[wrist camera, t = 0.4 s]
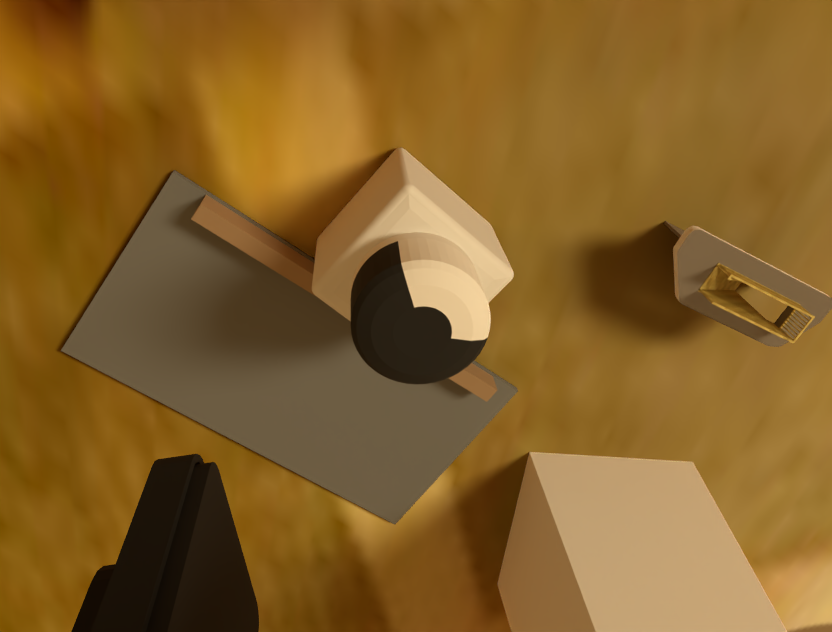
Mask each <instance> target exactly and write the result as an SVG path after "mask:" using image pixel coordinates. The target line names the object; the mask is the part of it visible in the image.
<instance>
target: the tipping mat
mask: <svg viewBox="0 0 832 632" xmlns="http://www.w3.org/2000/svg"><path fill="white" fill-rule="evenodd" d="M314 263H315V259H313V258H312V257H310V256H309V255H307V254H305V253H304V252H302V251H301V250H299V249H298V248H296V247H294V246H293V245H291V244H290V243H288V242H287V241H285V240H283V239H282V238H280V237H279V236H277V235H276V234H274V233H272V232H271V231H269V230H268V229H266V228H265V227H263V226H261V225H260V224H258V223H257V222H255V221H254V220H252V219H250V218H249V217H247V216H246V215H244V214H243V213H241V212H239V211H238V210H236V209H235V208H233V207H232V206H230V205H228V204H227V203H225V202H224V201H222V200H221V199H219V198H217V197H216V196H214V195H213V194H211V193H210V192H208V191H206V190H205V189H203V188H202V187H200V186H199V185H197V184H195V183H194V182H192V181H191V180H189V179H188V178H186V177H184V176H183V175H181V174H180V173H178V172H177V171H175V170H174V171H173V173H172V174H171V176H170V177H169V179H168V181H167V182H166V184H165V185H164V187H163V189H162V190H161V192H160V193H159V195H158V197H157V198H156V200H155V201H154V203H153V205H152V206H151V208H150V209H149V211H148V212H147V214H146V216H145V217H144V219H143V220H142V222H141V224H140V225H139V227H138V228H137V230H136V232H135V233H134V235H133V236H132V238H131V240H130V241H129V243H128V244H127V246H126V248H125V249H124V251H123V252H122V254H121V256H120V257H119V259H118V260H117V262H116V264H115V265H114V267H113V268H112V270H111V272H110V273H109V275H108V276H107V278H106V279H105V281H104V283H103V284H102V286H101V287H100V289H99V291H98V292H97V294H96V295H95V297H94V299H93V300H92V302H91V303H90V305H89V307H88V308H87V310H86V311H85V313H84V315H83V316H82V318H81V319H80V321H79V323H78V324H77V326H76V327H75V329H74V331H73V332H72V334H71V335H70V337H69V338H68V340H67V342H66V343H65V345H64V346H63V348H62V350H61V351H62V352H64V353H66V354H68V355H70V356H72V357H74V358H76V359H78V360H80V361H82V362H84V363H85V364H87V365H89V366H91V367H93V368H95V369H97V370H99V371H101V372H103V373H105V374H107V375H109V376H110V377H112V378H114V379H116V380H118V381H120V382H122V383H124V384H126V385H128V386H130V387H132V388H134V389H135V390H137V391H139V392H141V393H143V394H145V395H147V396H149V397H151V398H153V399H155V400H157V401H158V402H160V403H162V404H164V405H166V406H168V407H170V408H172V409H174V410H176V411H178V412H180V413H182V414H183V415H185V416H187V417H189V418H191V419H193V420H195V421H197V422H199V423H201V424H203V425H205V426H207V427H208V428H210V429H212V430H214V431H216V432H218V433H220V434H222V435H224V436H226V437H228V438H230V439H232V440H233V441H235V442H237V443H239V444H241V445H243V446H245V447H247V448H249V449H251V450H253V451H255V452H257V453H258V454H260V455H262V456H264V457H266V458H268V459H270V460H272V461H274V462H276V463H278V464H280V465H281V466H283V467H285V468H287V469H289V470H291V471H293V472H295V473H297V474H299V475H301V476H303V477H305V478H306V479H308V480H310V481H312V482H314V483H316V484H318V485H320V486H322V487H324V488H326V489H328V490H330V491H331V492H333V493H335V494H337V495H339V496H341V497H343V498H345V499H347V500H349V501H351V502H353V503H355V504H356V505H358V506H360V507H362V508H364V509H366V510H368V511H370V512H372V513H374V514H376V515H378V516H380V517H381V518H383V519H385V520H387V521H389V522H391V523H393V524H396V523H397V522H398V521H399V520H400V519H401V518H402V516H403V515H404V514H405V513H406V512H407V511H408V510H409V509H410V508H411V507H412V506H413V504H414V503H415V502H416V501H417V500H418V499H419V498H420V497H421V496H422V495H423V494H424V493H425V491H426V490H427V489H428V488H429V487H430V486H431V485H432V484H433V483H434V482H435V481H436V480H437V478H438V477H439V476H440V475H441V474H442V473H443V472H444V471H445V470H446V469H447V468H448V466H449V465H450V464H451V463H452V462H453V461H454V460H455V459H456V458H457V457H458V456H459V455H460V453H461V452H462V451H463V450H464V449H465V448H466V447H467V446H468V445H469V444H470V443H471V441H472V440H473V439H474V438H475V437H476V436H477V435H478V434H479V433H480V432H481V431H482V430H483V428H484V427H485V426H486V425H487V424H488V423H489V422H490V421H491V420H492V419H493V418H494V416H495V415H496V414H497V413H498V412H499V411H500V410H501V409H502V408H503V407H504V406H505V405H506V403H507V402H508V401H509V400H510V399H511V398H512V397H513V396H514V395H515V394H516V393H517V391H518V390H517V388H516V387H515V386H513V385H511V384H510V383H508V382H507V381H505V380H504V379H502V378H500V377H499V376H497V375H496V374H494V373H493V372H491V371H489V370H488V369H486V368H485V367H483V366H482V365H480V364H478V363H477V362H475V361H473V362H472V363H471V364H470V365H469V366H468V367H466V368H465V369H464V370H462V371H461V372H459V373H458V374H456V375H454V376H452V377H450V378H447V379H445V380H442V381H439V382H435V383H429V384H406V383H401V382H397V381H394V380H391V379H388V378H386V377H384V376H382V375H380V374H379V373H377V372H376V371H374V370H373V369H372V368H371V367H370V366H368V365H367V364H366V363H365V361H364V360H363V359H362V358H361V356H360V355H359V353H358V351H357V350H356V347H355V345H354V342H353V339H352V335H351V322H350V321H349V320H348V319H346V318H345V317H344V316H342V315H341V314H340V313H338V312H337V311H336V310H334V309H333V308H331V307H330V306H329V305H327V304H326V303H325V302H323V301H322V300H321V299H319V298H318V297H317V296H315V295H314V293H313V292H312V280H313V272H314Z"/></svg>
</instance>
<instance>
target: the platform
mask: <svg viewBox="0 0 832 632" xmlns="http://www.w3.org/2000/svg"><path fill="white" fill-rule="evenodd" d="M664 224H665V225H666V226H667V227H668V228H669V229H670V230H671V231H672V232H673V233H674V234H675V235H676V236H678V237H679V240H678V241H677V243H676V244H675V246H674V248H673V260H674V280H675V296H676V298H677V299H678V301H679V302H680V303H681V304H683V305H685V306H687V307H689V308H691V309H693V310H695V311H697V312H699V313H701V314H703V315H705V316H707V317H709V318H712V319H714V320H716V321H718V322H720V323H722V324H724V325H726V326H728V327H730V328H732V329H734V330H736V331H738V332H740V333H743V334H745V335H747V336H749V337H751V338H753V339H755V340H757V341H759V342H761V343H763V344H765V345H767V346H774V347H779V346H782V345H784V344H786V343H787V342H791V343H793V344H794V342H795V341H796V340H797V339H798V337H799V336H800V335H801V334H802V333H803V332H805V331H807V330H808V329H810V328H812V327H813V326H815V325H816V324H818V323H820V322H821V321H822V320H823V318H824V317H825V316H826V315H827V313H828V312H829V311H830V310H831V309H832V298H831V297H829V296H828V295H827V294H825V293H823V292H822V291H820V290H818V289H816V288H814V287H812V286H810V285H808V284H806V283H804V282H802V281H800V280H799V279H797V278H795V277H793V276H791V275H789V274H787V273H785V272H783V271H781V270H779V269H778V268H776V267H774V266H772V265H770V264H768V263H766V262H764V261H762V260H760V259H758V258H756V257H755V256H753V255H751V254H749V253H747V252H745V251H743V250H741V249H739V248H737V247H735V246H733V245H732V244H730V243H728V242H726V241H724V240H722V239H720V238H718V237H716V236H714V235H712V234H711V233H709V232H707V231H705V230H703V229H701V228H699V227H697V226H691V227H689V228H687V229H686V230H685V231H684V230H682V229H680V228H678V227H676V226H674V225H672V224H670V223H668V222H666V221H665V222H664ZM741 282H743V283H745V284H747V285H749V286H751V287H753V288H755V289H756V290H758V291H760V292H762V293H764V294H766V295H768V296H770V297H772V298H774V299H776V300H778V301H780V302H782V303H784V304H786V305H788V306H787V308H786V309H785V310H784V312H783V313H782V314H781V315H780V317H779V318H778V319H777V320H776V322H775V323H772V322H769V321H768V320H766V319H765V318H764V317H763V316H762V315H761V314H759V313H758V312H757V311H756V310H755V309H754V308H753V307H752V306H751V305H750V304H749V303H748V302H747V301H745V300H744V299H743V298H742V297H741V296H740V295H739V294H738V293H737V292H736V291H735V290H736V289H737V287H738V286H739V285H740V283H741ZM794 338H795V339H794ZM792 340H793V341H792Z"/></svg>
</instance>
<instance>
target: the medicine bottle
mask: <svg viewBox="0 0 832 632" xmlns="http://www.w3.org/2000/svg"><path fill="white" fill-rule="evenodd" d="M513 276H514V272H513V270H512V268H511V266H510V264H509V262H508V259H507V257H506V255H505V253H504V251H503V249H502V247H501V245H500V243H499V241H498V239H497V236H496V234H495V232H494V230H493V228H492V226H491V225H490V223H489V222H487V221H486V220H485V219H484V218H483V217H482V216H481V215H479V214H478V213H477V212H476V211H475V210H474V209H473V208H471V207H470V206H469V205H468V204H467V203H466V202H465V201H463V200H462V199H461V198H460V197H459V196H458V195H456V194H455V193H454V192H453V191H452V190H451V189H450V188H448V187H447V186H446V185H445V184H444V183H443V182H442V181H440V180H439V179H438V178H437V177H436V176H435V175H434V174H432V173H431V172H430V171H429V170H428V169H427V168H426V167H424V166H423V165H422V164H421V163H420V162H419V161H418V160H416V159H415V158H414V157H413V156H412V155H411V154H410V153H408V152H407V151H406V150H405V149H403V148H397V149H396V150H394V151H393V153H392V154H391V155H390V156H389V157H388V158H387V159H386V161H385V162H384V163H383V164H382V165H381V166H380V167H379V168H378V170H377V171H376V172H375V173H374V174H373V175H372V176H371V178H370V179H369V180H368V181H367V182H366V183H365V184H364V185H363V187H362V188H361V189H360V190H359V191H358V192H357V193H356V195H355V196H354V197H353V198H352V199H351V200H350V201H349V203H348V204H347V205H346V206H345V207H344V208H343V209H342V210H341V212H340V213H339V214H338V215H337V216H336V217H335V218H334V220H333V221H332V222H331V223H330V224H329V225H328V226H327V227H326V229H325V230H324V231H323V232H322V233H321V234H320V235H319V237H318V239H317V245H316V254H315V263H314V272H313V280H312V292H313V293H314V295H315V296H317V297H318V298H319V299H321V300H322V301H323V302H325V303H326V304H327V305H329V306H330V307H331V308H333V309H334V310H336V311H337V312H338V313H340V314H341V315H342V316H344V317H345V318H346V319H348V320H349V321H350V322H351V335H352V339H353V342H354V345H355V347H356V350H357V351H358V353H359V355H360V356H361V358H362V359H363V360H364V361H365V363H366V364H367V365H368V366H370V367H371V368H372V369H373V370H374V371H376V372H377V373H379V374H380V375H382V376H384V377H386V378H388V379H391V380H394V381H397V382H401V383H406V384H429V383H435V382H439V381H442V380H445V379H447V378H450V377H452V376H454V375H456V374H458V373H459V372H461V371H462V370H464V369H465V368H466V367H468V366H469V365H470V364H471V363H472V362H473V361H474V360H475V359H476V357H477V356H478V355H479V354H480V352H481V350H482V349H483V347H484V345H485V343H486V340H487V338H488V334H489V330H490V322H491V318H490V309H489V304H488V303H489V302H490V301H491V300H492V299H493V298H494V297H495V296H496V295H497V294H498V293H499V292H500V291H501V290H502V289H503V288H504V287H505V286H506V285H507V284H508V283H509V282H510V281H511V280H512V278H513Z"/></svg>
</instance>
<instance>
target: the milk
mask: <svg viewBox="0 0 832 632" xmlns="http://www.w3.org/2000/svg"><path fill="white" fill-rule="evenodd" d="M497 585H498V588H499V592H500V595H501V599H502V602H503V605H504V609H505V612H506V616H507V619H508V622H509V626H510V629H511V632H787V630H786V628H785V627H784V625H783V623H782V621H781V619H780V618H779V616H778V614H777V612H776V611H775V609H774V607H773V605H772V603H771V602H770V600H769V598H768V596H767V594H766V593H765V591H764V589H763V587H762V585H761V584H760V582H759V580H758V578H757V576H756V575H755V573H754V571H753V569H752V568H751V566H750V564H749V562H748V560H747V559H746V557H745V555H744V553H743V551H742V550H741V548H740V546H739V544H738V542H737V541H736V539H735V537H734V535H733V533H732V532H731V530H730V528H729V526H728V524H727V523H726V521H725V519H724V517H723V516H722V514H721V512H720V510H719V508H718V507H717V505H716V503H715V501H714V499H713V498H712V496H711V494H710V492H709V490H708V489H707V487H706V485H705V483H704V481H703V480H702V478H701V476H700V474H699V472H698V471H697V469H696V467H695V465H694V464H693V462H686V461H669V460H653V459H636V458H620V457H603V456H587V455H571V454H554V453H538V452H529V456H528V460H527V464H526V468H525V472H524V476H523V480H522V484H521V489H520V493H519V497H518V501H517V505H516V509H515V513H514V517H513V521H512V526H511V530H510V534H509V538H508V542H507V546H506V550H505V554H504V558H503V563H502V567H501V571H500V575H499V579H498V583H497Z"/></svg>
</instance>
